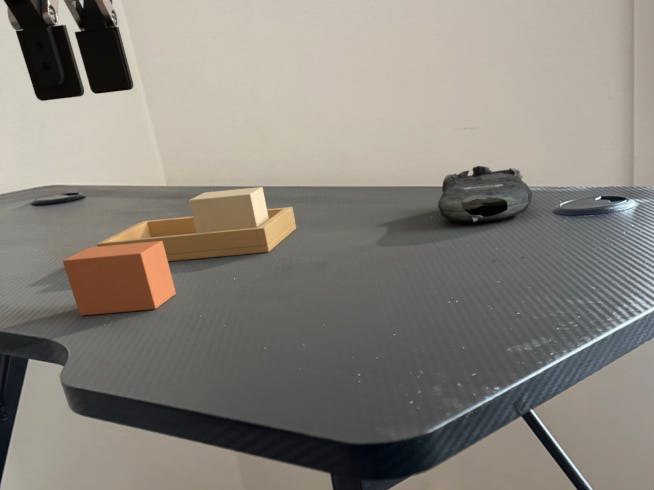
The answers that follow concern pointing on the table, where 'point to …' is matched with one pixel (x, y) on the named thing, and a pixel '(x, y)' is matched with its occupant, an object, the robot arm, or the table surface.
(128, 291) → the pad
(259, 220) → the pad
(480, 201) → the electronic device
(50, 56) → the robot arm
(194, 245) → the tray
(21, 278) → the table surface
